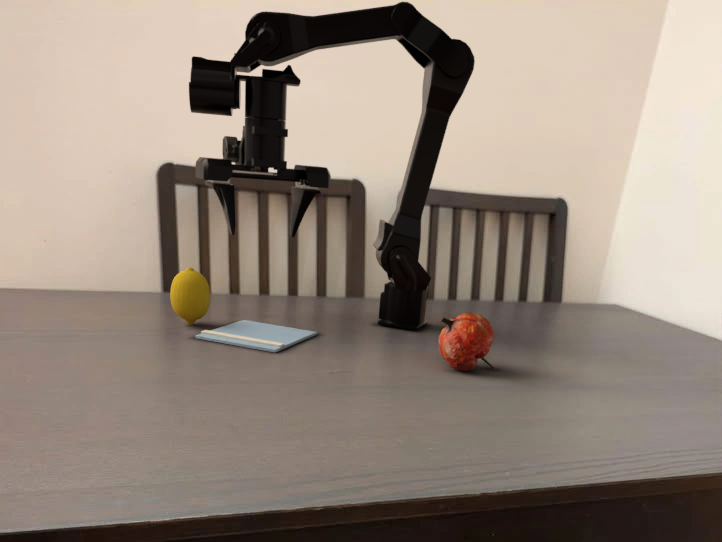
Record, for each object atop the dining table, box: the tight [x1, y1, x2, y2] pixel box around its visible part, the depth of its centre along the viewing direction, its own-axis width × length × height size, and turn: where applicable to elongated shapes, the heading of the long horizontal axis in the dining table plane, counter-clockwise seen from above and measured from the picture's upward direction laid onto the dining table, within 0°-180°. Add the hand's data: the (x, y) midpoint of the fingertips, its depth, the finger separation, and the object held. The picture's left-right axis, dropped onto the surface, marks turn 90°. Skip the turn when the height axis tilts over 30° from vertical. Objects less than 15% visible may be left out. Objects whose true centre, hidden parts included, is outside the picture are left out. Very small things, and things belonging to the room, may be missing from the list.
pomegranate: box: [438, 312, 495, 372], centre depth 93 cm, size 7×7×10 cm
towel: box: [194, 319, 318, 354], centre depth 101 cm, size 12×13×1 cm
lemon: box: [169, 266, 211, 325], centre depth 103 cm, size 6×6×8 cm
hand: (262, 235), depth 108 cm, fingers open, 9 cm apart
